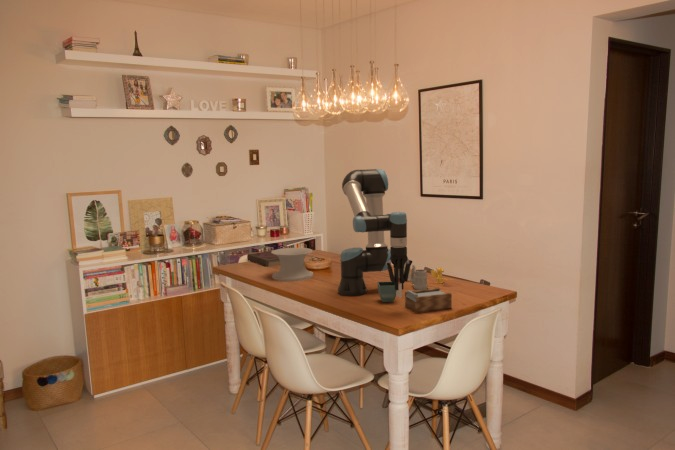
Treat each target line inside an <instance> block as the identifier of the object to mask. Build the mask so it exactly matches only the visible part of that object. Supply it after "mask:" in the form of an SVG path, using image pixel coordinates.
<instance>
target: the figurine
mask: <svg viewBox="0 0 675 450" xmlns="http://www.w3.org/2000/svg"><path fill="white" fill-rule="evenodd" d="M435 269H436V270H433V269H431V270H430V274H431V276H432V277H433V278H435V279H436V281H435V284H443V283H444V281H446V280H448V281H449V280H450V281H451V280H453V281H454V279H452V278H443V273H444V272H445V270H444V268H443V267H442V266H441V267H438V266H435Z"/></svg>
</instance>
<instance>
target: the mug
mask: <svg viewBox="0 0 675 450" xmlns="http://www.w3.org/2000/svg"><path fill="white" fill-rule="evenodd" d="M411 266H412V267H411V270H410V281H411V284H412V285H413V289H414V290H415V291H416V290H425V289H428V286H429V285H428V275H427V272H428V271H427V269H420V268H419V269H416V265H415V264H411Z"/></svg>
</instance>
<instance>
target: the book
mask: <svg viewBox="0 0 675 450" xmlns="http://www.w3.org/2000/svg"><path fill="white" fill-rule="evenodd" d="M272 251H273V250H266V251H259V252H252V253H247V255H246V258H247V261H249V262H252V263H254V264H255V263H256V264H258V265H261V266H264V267H266V268H267V267H275V266H281V262H280V259H279V257H278V256H277V255H275V254H273V253H271V252H272Z"/></svg>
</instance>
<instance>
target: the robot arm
mask: <svg viewBox="0 0 675 450" xmlns="http://www.w3.org/2000/svg"><path fill="white" fill-rule="evenodd" d="M341 188H342V192H343V194H344V195H345V196H346V197H347V200H348V203H349V205H350V207H351V211H352V213H353V215H354V217H353V218H352V229H353V231H354V232H355V233H367V244H366V245H365V249H363V248H362V247H350V248H349V247H348V248H347V249H344V250H342V251H341V252H340V282H339V284H338V287H337V292H338V294H339V295H341V296H348V297H357V296H361V295H362V296H363V295H365V294H367V293H368V289H367V285H366V283H365V280H364V273H373V272H376V273H377V272H386V271H387V272H388V276H389V279H390V282H393V283H395V290H396V297H397V298H402V297H403V291H404V284H405V282H408V281H407V280H408V275H409V270H410V271H411V266H412V265H413V264H412V263H413V260H411V259H409V257H408V247H407V244H408V238H407V236H408V233H407V232H408V217H407V213H406V212H402V211H393V212H391V213H387V214H384V208H383V207H384V206H383V204H384V203H383V197H384V196H385V195H386V192H387V191H388V190H389V178H388V175H387V173H386V170H383V169H382V168H380V169H379V168H368V169H354V170H351V171H349V172H348V173H347V174H346V175H345V176H344V177H343V180H342V183H341ZM388 231H389V234H390V235H389V244H390V248H388V245H387V244H386V242H385V232H388ZM405 263H406V266H405V271H404V264H405ZM392 265H393V267H392ZM399 281H400V282H399Z"/></svg>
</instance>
